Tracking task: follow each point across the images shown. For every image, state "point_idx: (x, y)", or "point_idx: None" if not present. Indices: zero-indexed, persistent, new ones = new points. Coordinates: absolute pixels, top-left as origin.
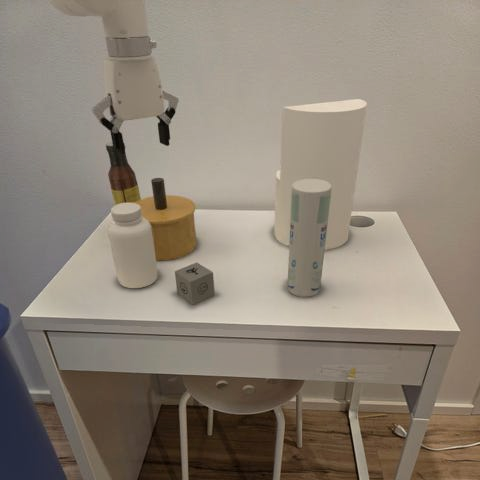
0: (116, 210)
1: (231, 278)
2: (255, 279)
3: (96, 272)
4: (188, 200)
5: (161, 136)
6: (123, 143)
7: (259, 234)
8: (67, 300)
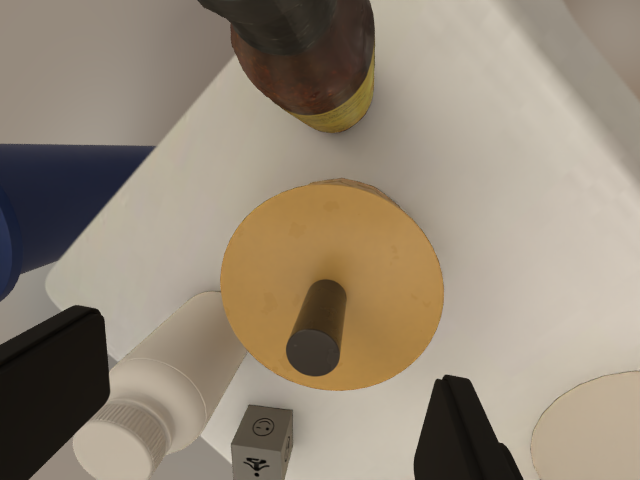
0: (84, 451)
1: (349, 434)
2: (377, 463)
3: (165, 245)
4: (431, 315)
5: (438, 467)
6: (51, 456)
7: (543, 366)
8: (96, 293)
